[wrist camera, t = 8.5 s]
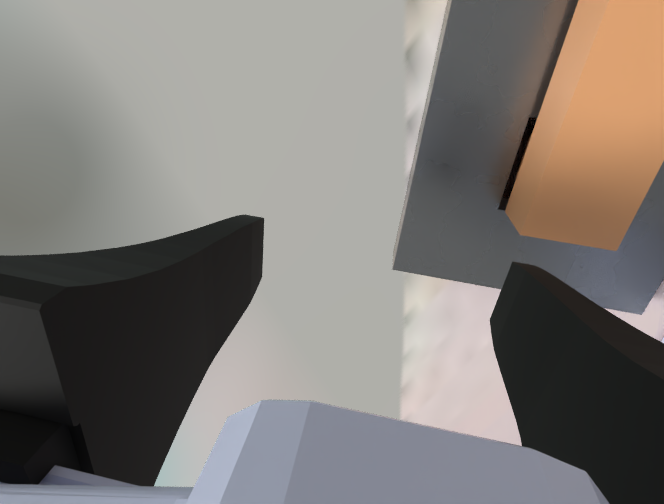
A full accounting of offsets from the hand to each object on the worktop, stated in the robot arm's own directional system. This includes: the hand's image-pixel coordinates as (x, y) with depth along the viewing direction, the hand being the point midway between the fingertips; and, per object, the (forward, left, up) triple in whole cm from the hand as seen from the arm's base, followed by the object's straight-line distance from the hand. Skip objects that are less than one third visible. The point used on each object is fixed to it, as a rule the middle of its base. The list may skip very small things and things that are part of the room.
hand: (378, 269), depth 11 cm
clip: (+6, -7, -9) cm, 13 cm away
